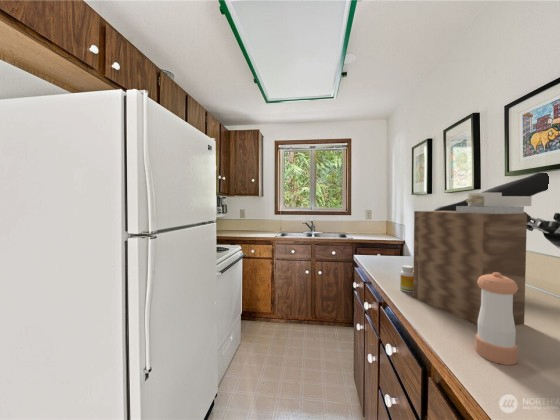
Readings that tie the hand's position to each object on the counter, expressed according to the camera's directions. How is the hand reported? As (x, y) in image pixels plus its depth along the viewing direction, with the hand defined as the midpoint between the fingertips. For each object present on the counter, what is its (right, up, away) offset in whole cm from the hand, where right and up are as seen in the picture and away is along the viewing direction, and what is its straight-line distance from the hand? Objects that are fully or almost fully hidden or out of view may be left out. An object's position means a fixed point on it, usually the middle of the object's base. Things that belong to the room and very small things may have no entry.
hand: (538, 214), depth 81 cm
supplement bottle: (-33, -31, +18) cm, 49 cm away
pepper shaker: (-35, -32, -24) cm, 53 cm away
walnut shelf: (-24, -31, +1) cm, 39 cm away
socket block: (-22, +1, -6) cm, 23 cm away
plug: (-17, +3, -5) cm, 17 cm away
